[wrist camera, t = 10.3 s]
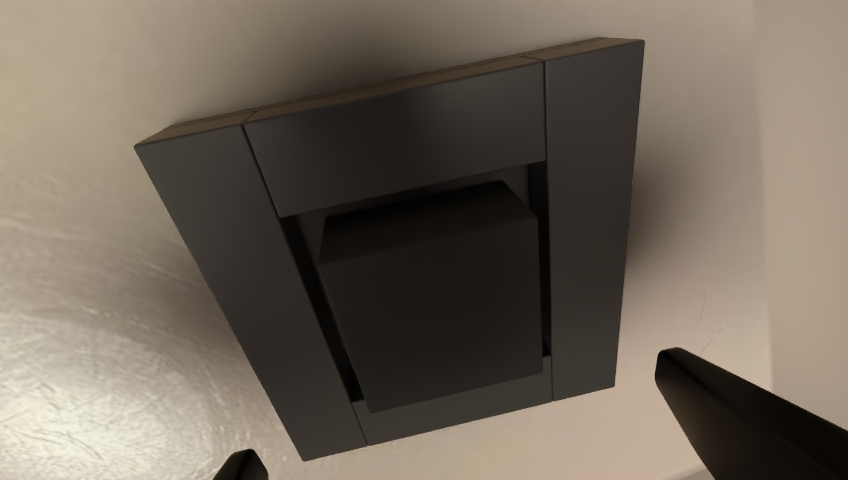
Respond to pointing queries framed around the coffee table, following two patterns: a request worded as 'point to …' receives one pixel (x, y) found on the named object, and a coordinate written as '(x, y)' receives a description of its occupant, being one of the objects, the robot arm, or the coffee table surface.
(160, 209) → the coffee table surface
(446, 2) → the coffee table surface
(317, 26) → the coffee table surface
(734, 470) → the robot arm
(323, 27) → the coffee table surface
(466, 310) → the black angular block
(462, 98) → the base pad
